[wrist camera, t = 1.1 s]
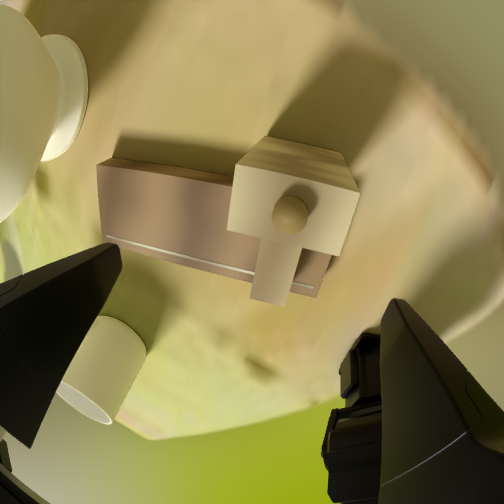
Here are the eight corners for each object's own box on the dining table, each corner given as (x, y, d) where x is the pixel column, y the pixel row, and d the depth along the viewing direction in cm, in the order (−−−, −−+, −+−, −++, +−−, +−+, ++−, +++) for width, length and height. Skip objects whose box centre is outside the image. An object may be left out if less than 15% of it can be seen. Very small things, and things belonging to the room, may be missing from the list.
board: (342, 201, 19) (345, 213, 17) (316, 281, 23) (316, 298, 21) (111, 157, 20) (96, 164, 19) (115, 232, 24) (103, 243, 23)
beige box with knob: (341, 153, 17) (362, 198, 10) (305, 275, 22) (298, 361, 15) (265, 135, 18) (231, 167, 11) (243, 260, 23) (212, 340, 16)
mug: (107, 286, 28) (50, 357, 19) (160, 360, 34) (126, 430, 25) (67, 294, 31) (18, 351, 22) (116, 359, 36) (82, 416, 27)
